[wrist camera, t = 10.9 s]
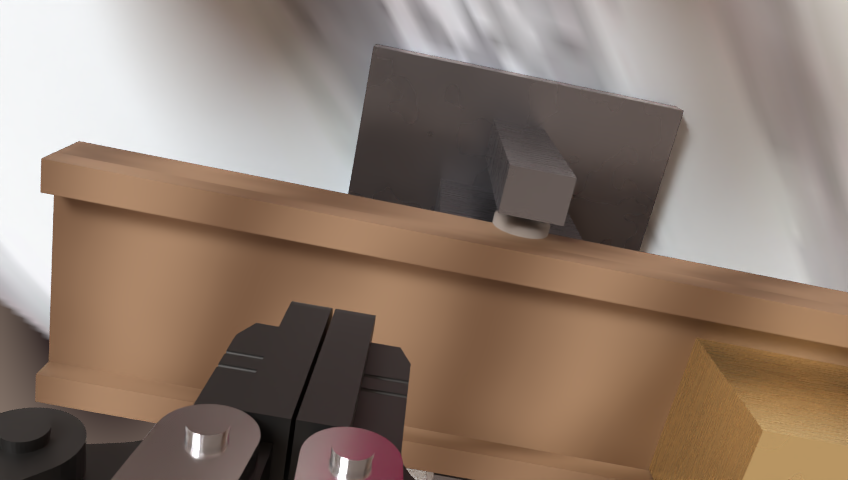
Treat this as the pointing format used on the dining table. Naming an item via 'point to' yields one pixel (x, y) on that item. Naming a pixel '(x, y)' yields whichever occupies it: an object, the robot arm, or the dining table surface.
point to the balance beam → (397, 311)
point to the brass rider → (755, 418)
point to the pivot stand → (510, 148)
